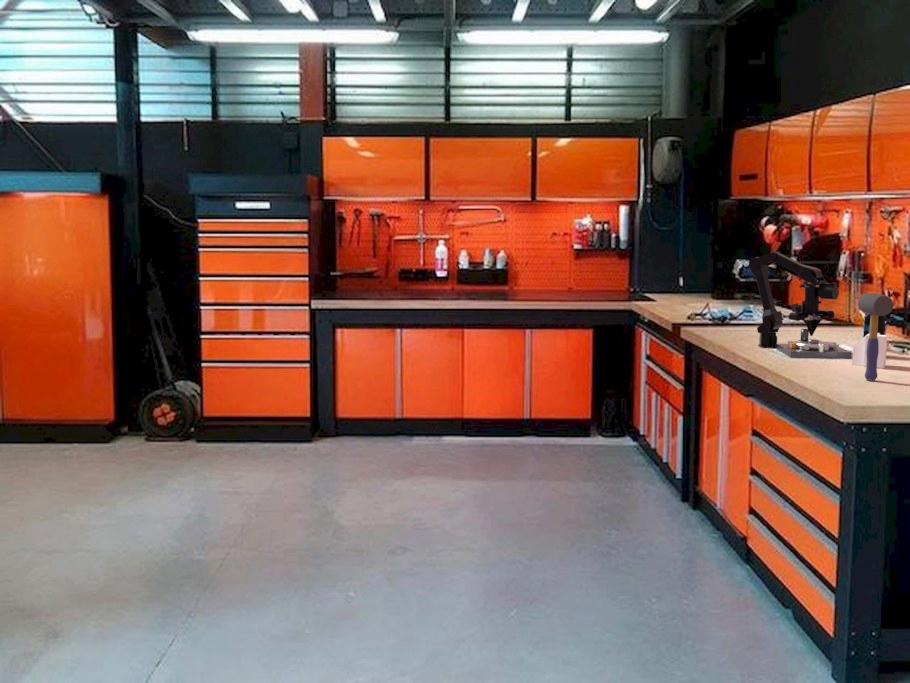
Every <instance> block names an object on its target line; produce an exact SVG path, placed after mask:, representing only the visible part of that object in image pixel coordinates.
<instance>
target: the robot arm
mask: <svg viewBox="0 0 910 683" xmlns="http://www.w3.org/2000/svg"><path fill="white" fill-rule="evenodd" d="M775 263H776V264H778V265H779V266H782V267H784V268H785V269H788V270H790V271H792V272H794V273H795V274H797V276H799V278H800V279H801V280H803V281H802V283H801V284H800V285H799V288H804V300H802V301H801V304H798V303H792V304H791V311H792V312H790V313H789V314H788V320H792V321H802V322H804V323H805V325H806V327H807V328H806V329H809V336H811V337H812V336H814V334H815V331H816V329H817V328H818V326H819V324H820V323H821V321H823V318H822V317H827V318H828V319H832V318H833V319H834V318H835V312H834V310H831V309H830V310H829V309H820V304H822V300H837V299H838V298H839V295H840V294H839V293H840V290H839V287H838V286H837V282H828V281H827V280H826V279H825V278H824V276H823V272H822V270H821V269H820V268H818V267H815V266H811V265H806V264H803V263H800V262H799V261H797V260H795V259H792V258H791V257H788V256H786V255H784V254H782V253H781V252H780V251H772V252H769V253H768V254H765V255H761V256H754V257H751V258H750V260H749V261H748V267H749V269H750V273H751V274H752V275H753V276H754V278H755V279H756V280H755V281H756V284H757V288H758V291H759V296H760V300H761V301H760V302H761V304H762V309H763V312H762V316H761V318H762V323H761V324H760V325H759V326H758V327H757V328H756V330H757V333H758V334H759V342H758V347H760V348H776V344H778V336H777V333H778V332H779V330H780V328H781V327H782V326H783V321H784V320H785V319H784V318H783V315H782V314H783V313H782V310H777V309H776V306H775V302H774V299H773V293H772V290H771V285H770V281H769V280H770V279H769V277H768V275H769V271H770V267H769V266H772V265H773V264H775ZM820 299H822V300H820Z"/></svg>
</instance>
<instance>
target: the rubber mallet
mask: <svg viewBox="0 0 910 683" xmlns="http://www.w3.org/2000/svg"><path fill="white" fill-rule="evenodd" d="M857 306H858V309H859V310H860V311H862V312H863V313H865V314H871V318H870V332H869V339H868V343H867V352H866V354H867V366H866V367H865V373H864V377H865V380H866V381H868V382H874V381H876V380H877V379H878V370H877V369H878V368H877V358H878V353H879V343H878V338H877V333H878V316H885V317H886V316H888V315H889V314H890V313H891V312H892V311H893V310H894V301H893V300H892V299H891V297H889V296H888V295H885V294H882V293H877V292H876V293H875V292H865V293H863V294H861V295H860V297H859V298H858V301H857Z"/></svg>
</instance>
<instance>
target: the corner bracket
mask: <svg viewBox="0 0 910 683" xmlns="http://www.w3.org/2000/svg"><path fill="white" fill-rule="evenodd" d="M877 338H878V343H879V353H878V358H877V369H881V370H883V369H885V368H886V363H887V362H886V360H887V347H888V346H887V345H888V335H887V334H884V335H880V333H877ZM868 339H869V334H867V335H866V336H865V337H864V338H861V339H860V340H859V341H858V342H855V344H854V345H852V346H853V347H852V358H851V360H852V361H851V364H852V366H861V367H863V368H866V366H867V354H866V352H867V343H868Z"/></svg>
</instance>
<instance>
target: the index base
mask: <svg viewBox="0 0 910 683" xmlns="http://www.w3.org/2000/svg"><path fill="white" fill-rule="evenodd" d="M776 349H777V350H776ZM775 350H776V351H778V350H779V351H778V352H779V353H781V352H782V353H781V354H784V355H786V356H787V357H789V358H797V359H798V358H799V359H800V358H801V359H803V358H804V359H805V358H806V359H808V358H809V359H810V358H811V359H813V358H814V359H852V357H853V351H850V350H847V349H845V348H843V347H841V346H839V349H829V350H823V344H819V348H818V350H812V349H810V350H804V349H801V348H790V346H788V343H777V344H776V347H775Z"/></svg>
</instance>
